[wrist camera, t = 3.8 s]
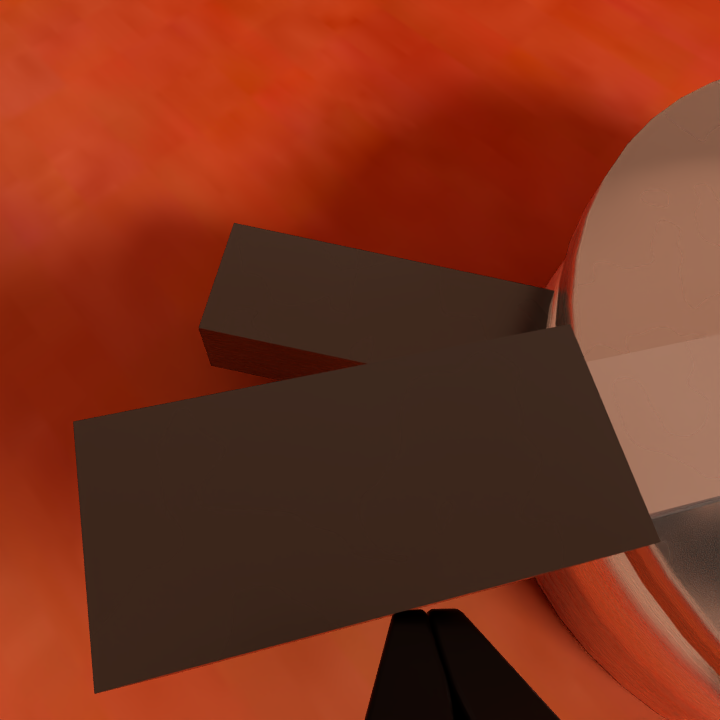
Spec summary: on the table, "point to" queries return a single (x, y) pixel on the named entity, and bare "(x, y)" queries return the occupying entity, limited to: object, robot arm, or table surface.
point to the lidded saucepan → (438, 454)
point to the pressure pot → (419, 335)
